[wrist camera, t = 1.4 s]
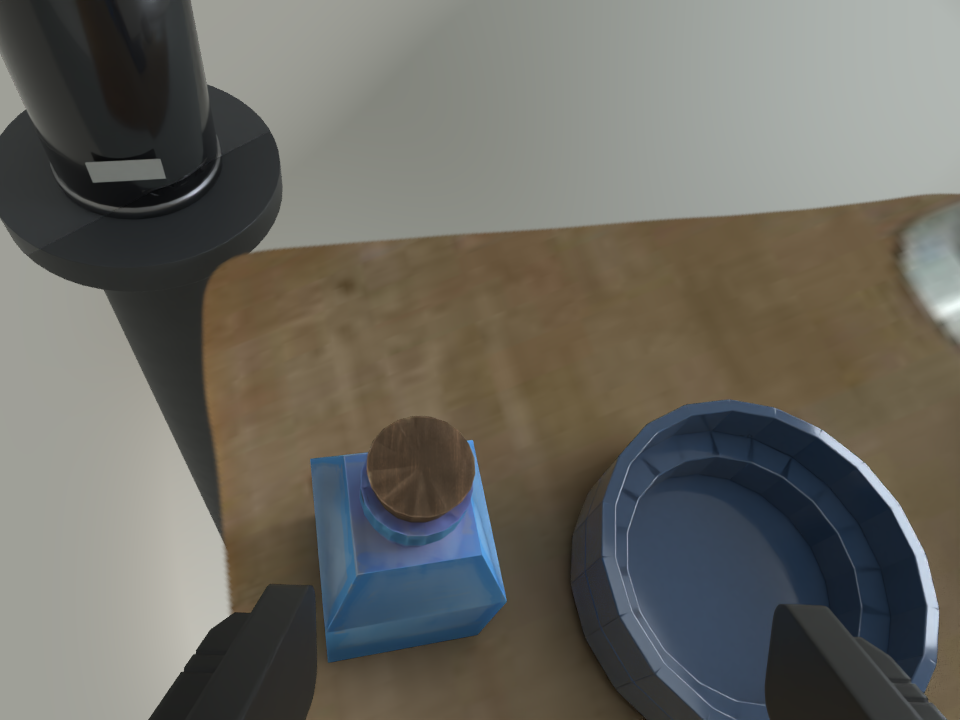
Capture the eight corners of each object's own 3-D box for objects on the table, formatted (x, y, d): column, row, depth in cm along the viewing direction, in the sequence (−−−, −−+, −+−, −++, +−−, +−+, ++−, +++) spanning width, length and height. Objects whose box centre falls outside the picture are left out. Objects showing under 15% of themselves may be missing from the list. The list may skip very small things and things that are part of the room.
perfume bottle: (477, 634, 29) (548, 554, 19) (328, 662, 28) (321, 590, 18) (451, 496, 32) (501, 364, 22) (315, 514, 31) (303, 381, 21)
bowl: (504, 588, 31) (530, 556, 26) (673, 395, 38) (715, 346, 33) (773, 849, 27) (852, 860, 23) (905, 583, 34) (985, 554, 30)
